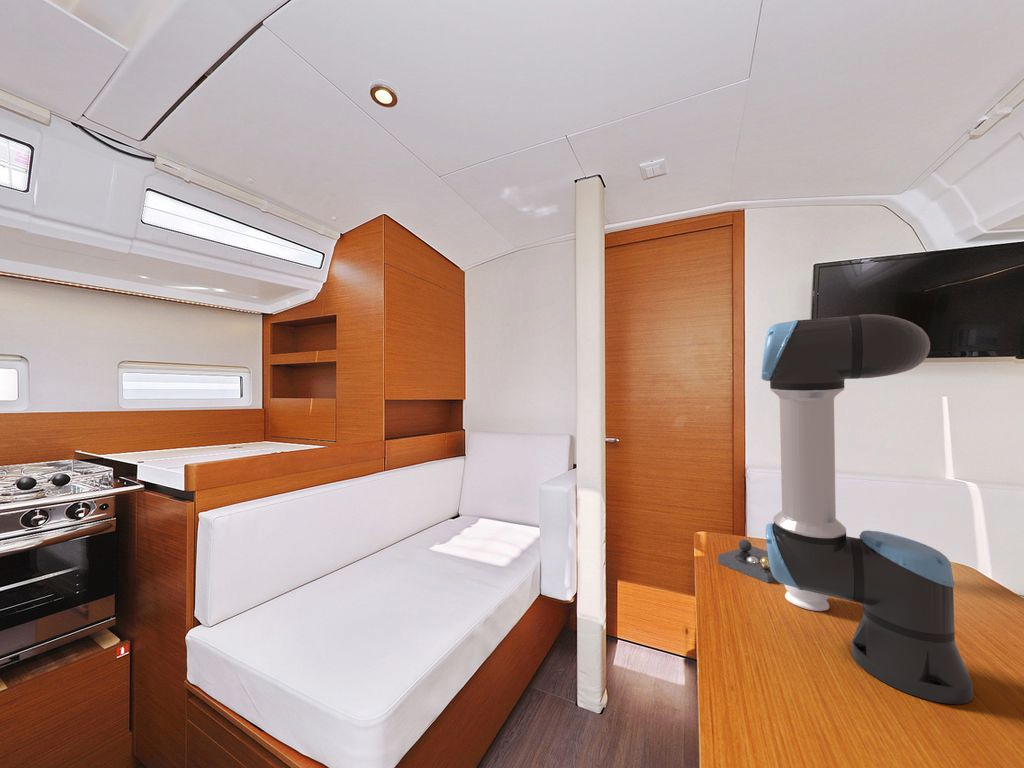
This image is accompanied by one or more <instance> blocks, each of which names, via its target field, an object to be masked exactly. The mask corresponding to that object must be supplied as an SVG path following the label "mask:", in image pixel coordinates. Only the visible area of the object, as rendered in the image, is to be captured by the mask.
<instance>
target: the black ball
mask: <svg viewBox="0 0 1024 768" xmlns="http://www.w3.org/2000/svg"><path fill="white" fill-rule="evenodd" d="M752 546H753V545H752V543H751V542H750V541H749V540H747V539H740V540H739V542H738V547H739V549H741V550H743V551H746V552H747V551H750V550H751V548H752Z"/></svg>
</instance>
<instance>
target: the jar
mask: <svg viewBox="0 0 1024 768" xmlns="http://www.w3.org/2000/svg"><path fill="white" fill-rule="evenodd" d="M783 585H784V584H783ZM784 588H785V590H786V593H785V594H784V597H785V599H786V600H787V601H788V602H789V603H791V604H792V605H795V606H796V607H799V608H802V609H805V610H809V611H813V612H815V611H816V612H825V611H827V610H829V608H830V604H829V602H828V599H829V597H830V596H827V595H823V594H819V593H814V592H810V591H806V590H799V589H797V588H795V587H791V586H788V585H784Z"/></svg>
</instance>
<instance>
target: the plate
mask: <svg viewBox="0 0 1024 768" xmlns="http://www.w3.org/2000/svg"><path fill="white" fill-rule="evenodd" d="M751 546H752V548H751V550H750V551H747V552H746V551H743V550H741V549H740V548H737V549H733V550H729V551H726V552H723V553H720V554H718V558H717V559H718V561H717V562H718V564H719V565H722V566H725V567H727V568H729V569H733V570H734V571H737V572H740V573H742V574H744V575H746V576H749V577H751V578H755V579H756V580H759V581H762V582H764V583H767V584H770V583H772V582H776V581H777V580H776V579H775V578H774V576H773V574H772V571H771V568H770V569H765V568H763V567H762V566H761V565H760V563H759V564H754V563H749V562H747V561H746V559H747V558H748V557H750V556H753V557H756V558H757V559H758V560H759V562H760V559H761V558H762V557H768V552H767V550H764V549H762V548H759V547H756V546H753V545H751Z"/></svg>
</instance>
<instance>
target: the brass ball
mask: <svg viewBox="0 0 1024 768" xmlns="http://www.w3.org/2000/svg"><path fill="white" fill-rule="evenodd" d="M760 565H761V566H762V567H763V568H765V569H770V564H769V558H768V557H762V558H761V559H760Z"/></svg>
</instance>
